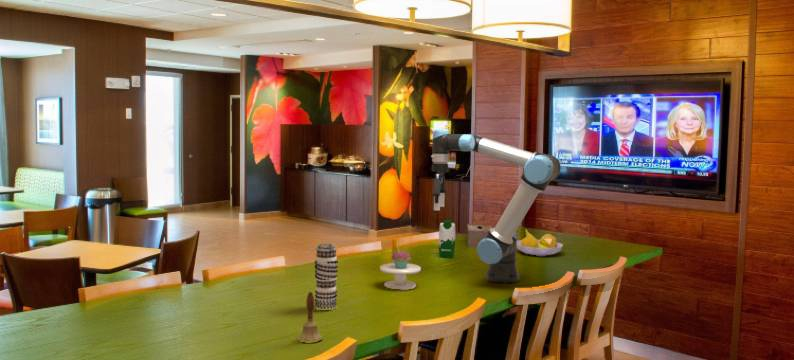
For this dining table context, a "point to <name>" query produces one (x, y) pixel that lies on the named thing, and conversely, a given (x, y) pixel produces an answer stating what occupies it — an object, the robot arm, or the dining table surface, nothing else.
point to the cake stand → (400, 276)
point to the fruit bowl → (539, 245)
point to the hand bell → (310, 322)
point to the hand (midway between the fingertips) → (439, 208)
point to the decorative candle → (326, 276)
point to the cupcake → (400, 258)
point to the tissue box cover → (476, 233)
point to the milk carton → (447, 239)
